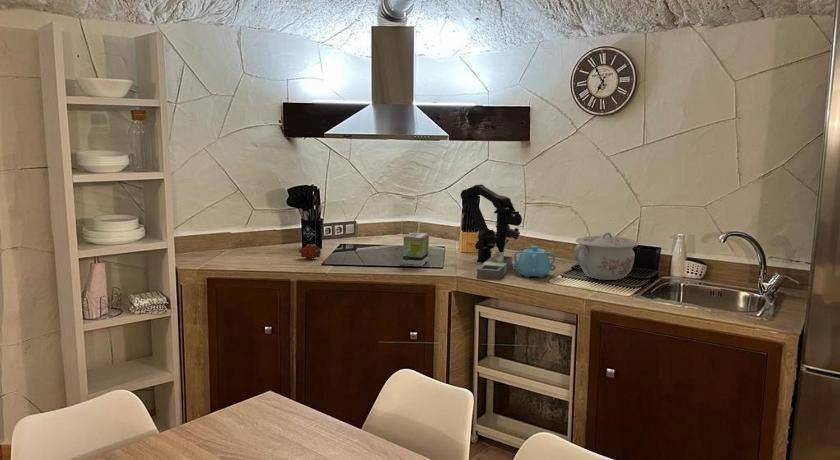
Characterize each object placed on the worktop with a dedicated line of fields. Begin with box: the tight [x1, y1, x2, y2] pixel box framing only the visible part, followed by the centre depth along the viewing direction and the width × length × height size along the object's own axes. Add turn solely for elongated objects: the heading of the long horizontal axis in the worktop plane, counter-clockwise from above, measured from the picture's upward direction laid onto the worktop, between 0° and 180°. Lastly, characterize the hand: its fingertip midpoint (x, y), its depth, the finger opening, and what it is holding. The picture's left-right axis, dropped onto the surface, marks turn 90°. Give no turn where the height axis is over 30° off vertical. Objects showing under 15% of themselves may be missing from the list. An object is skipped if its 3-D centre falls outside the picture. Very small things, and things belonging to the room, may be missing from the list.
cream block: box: [491, 251, 505, 262], centre depth 316 cm, size 5×5×4 cm
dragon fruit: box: [298, 243, 322, 260], centre depth 336 cm, size 8×8×12 cm
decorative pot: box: [511, 245, 556, 279], centre depth 304 cm, size 16×16×14 cm
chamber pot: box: [573, 232, 639, 280], centre depth 300 cm, size 28×28×21 cm
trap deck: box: [476, 255, 513, 281], centre depth 313 cm, size 10×34×4 cm, turn 162°
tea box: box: [402, 232, 430, 265], centre depth 326 cm, size 15×10×15 cm
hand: (501, 254), depth 326 cm, fingers closed
